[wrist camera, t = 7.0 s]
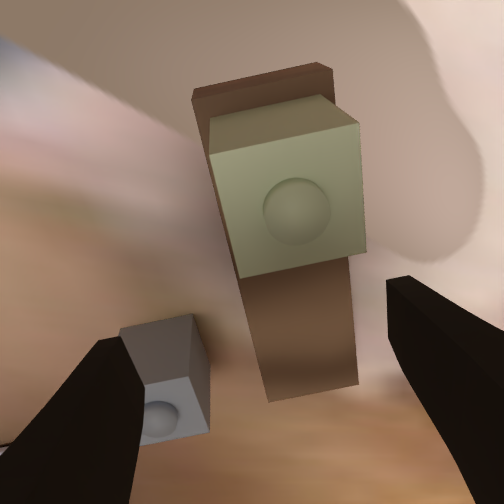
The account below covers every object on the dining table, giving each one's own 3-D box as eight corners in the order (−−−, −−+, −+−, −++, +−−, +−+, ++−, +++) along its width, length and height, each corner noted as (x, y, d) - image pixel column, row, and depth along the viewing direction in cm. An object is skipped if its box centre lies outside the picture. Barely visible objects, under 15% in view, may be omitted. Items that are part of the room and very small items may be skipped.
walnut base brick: (345, 351, 24) (358, 384, 22) (263, 368, 25) (268, 402, 22) (316, 61, 16) (332, 68, 14) (194, 88, 16) (191, 99, 14)
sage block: (330, 196, 17) (372, 262, 12) (233, 217, 17) (240, 289, 12) (319, 94, 15) (366, 128, 10) (209, 118, 15) (208, 161, 10)
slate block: (210, 365, 24) (209, 443, 20) (144, 378, 24) (129, 459, 20) (192, 313, 22) (187, 386, 18) (120, 328, 22) (97, 405, 18)
